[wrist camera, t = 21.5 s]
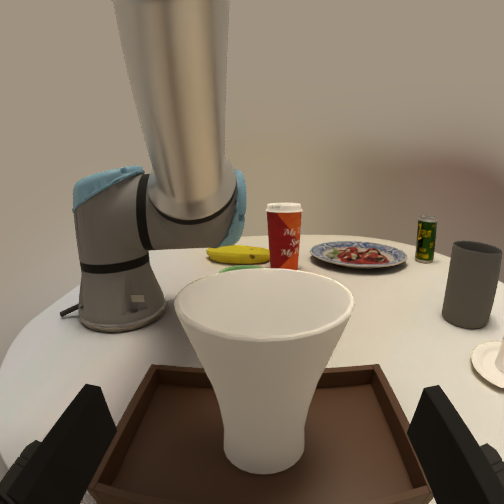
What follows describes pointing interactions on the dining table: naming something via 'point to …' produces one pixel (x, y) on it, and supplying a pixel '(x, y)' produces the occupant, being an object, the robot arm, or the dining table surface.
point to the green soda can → (426, 239)
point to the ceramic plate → (358, 254)
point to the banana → (239, 254)
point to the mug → (471, 283)
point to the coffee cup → (284, 234)
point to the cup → (264, 354)
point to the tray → (250, 484)
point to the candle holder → (490, 361)
